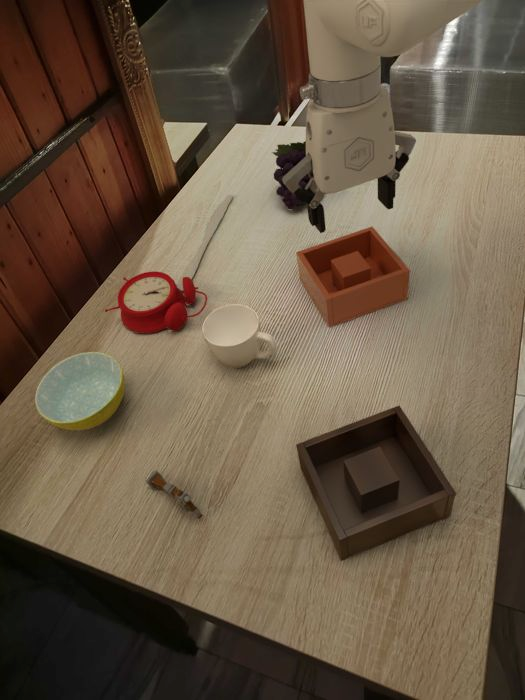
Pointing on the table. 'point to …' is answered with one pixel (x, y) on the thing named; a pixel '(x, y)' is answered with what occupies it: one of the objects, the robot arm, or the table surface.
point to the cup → (236, 335)
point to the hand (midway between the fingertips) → (352, 215)
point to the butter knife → (205, 239)
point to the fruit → (287, 161)
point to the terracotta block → (350, 271)
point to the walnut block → (371, 479)
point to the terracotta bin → (359, 299)
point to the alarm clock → (155, 302)
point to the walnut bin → (407, 461)
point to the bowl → (81, 391)
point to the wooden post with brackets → (173, 492)
